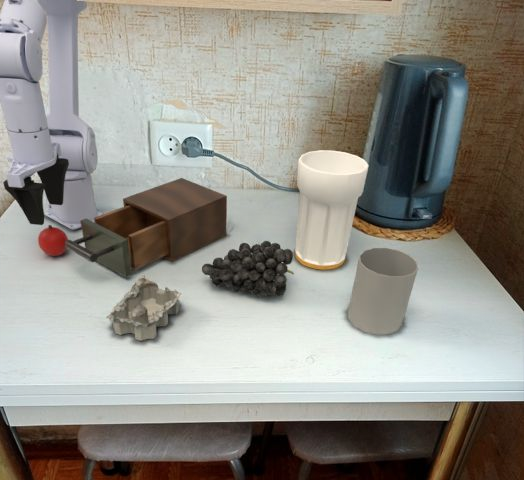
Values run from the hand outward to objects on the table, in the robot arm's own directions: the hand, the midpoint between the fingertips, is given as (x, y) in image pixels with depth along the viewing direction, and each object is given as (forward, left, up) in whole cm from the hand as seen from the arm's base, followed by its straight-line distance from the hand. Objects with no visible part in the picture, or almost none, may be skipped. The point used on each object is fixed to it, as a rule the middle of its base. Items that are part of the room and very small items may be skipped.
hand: (47, 213), depth 84 cm
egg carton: (+26, -2, -8) cm, 27 cm away
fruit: (+31, +15, -8) cm, 35 cm away
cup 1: (+34, +32, -8) cm, 47 cm away
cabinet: (+10, +19, -8) cm, 23 cm away
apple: (0, 0, -5) cm, 5 cm away
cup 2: (+51, +22, -8) cm, 56 cm away
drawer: (+10, +7, -7) cm, 14 cm away
